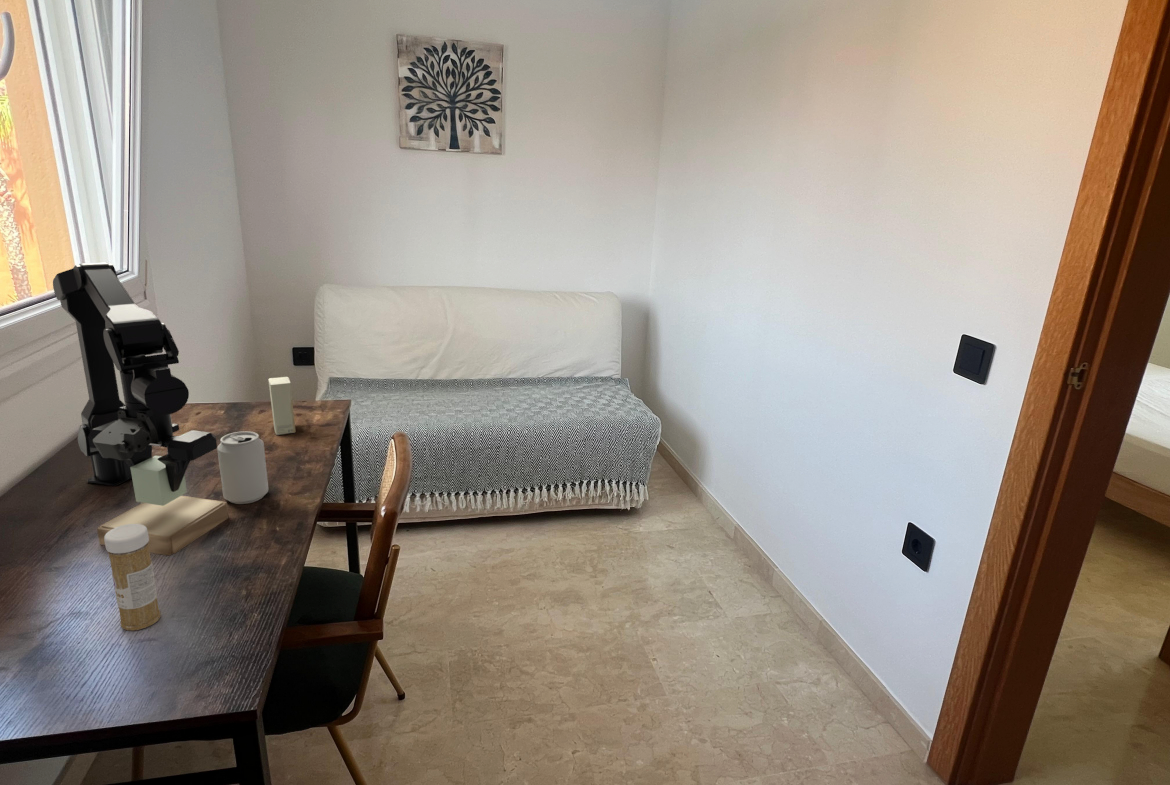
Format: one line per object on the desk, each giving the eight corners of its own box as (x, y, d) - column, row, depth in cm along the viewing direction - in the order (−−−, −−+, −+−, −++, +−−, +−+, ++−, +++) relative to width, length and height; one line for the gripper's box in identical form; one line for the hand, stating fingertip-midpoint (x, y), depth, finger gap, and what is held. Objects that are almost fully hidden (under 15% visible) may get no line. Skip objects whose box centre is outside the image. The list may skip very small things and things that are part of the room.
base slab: (98, 544, 105) (95, 527, 104) (164, 506, 117) (161, 491, 116) (171, 555, 102) (168, 538, 101) (230, 516, 115) (228, 501, 114)
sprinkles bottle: (115, 621, 87) (98, 530, 83) (154, 606, 90) (139, 518, 86) (127, 637, 84) (110, 544, 80) (167, 621, 88) (152, 531, 84)
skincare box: (296, 433, 153) (291, 383, 149) (275, 435, 151) (270, 385, 147) (293, 424, 158) (288, 375, 155) (272, 426, 156) (267, 377, 153)
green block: (136, 501, 106) (130, 467, 104) (160, 488, 111) (155, 455, 109) (163, 505, 105) (157, 471, 103) (187, 492, 110) (182, 459, 108)
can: (251, 508, 118) (243, 446, 114) (214, 503, 119) (205, 441, 116) (277, 490, 125) (271, 431, 121) (242, 485, 126) (235, 427, 123)
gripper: (46, 407, 97) (66, 503, 101) (157, 421, 94) (172, 519, 98) (112, 386, 107) (127, 473, 112) (213, 398, 104) (224, 488, 109)
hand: (160, 488), depth 107 cm, fingers closed on green block, 5 cm apart
